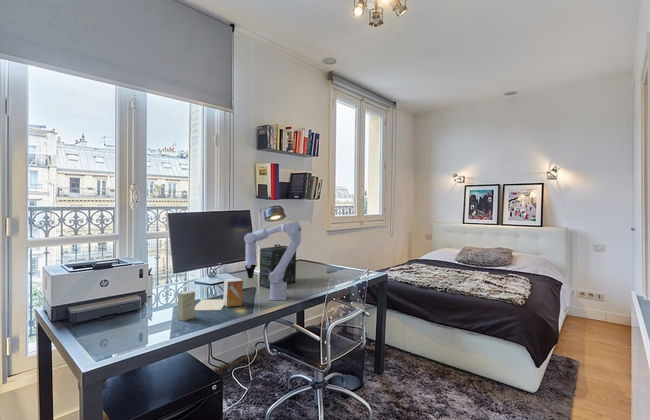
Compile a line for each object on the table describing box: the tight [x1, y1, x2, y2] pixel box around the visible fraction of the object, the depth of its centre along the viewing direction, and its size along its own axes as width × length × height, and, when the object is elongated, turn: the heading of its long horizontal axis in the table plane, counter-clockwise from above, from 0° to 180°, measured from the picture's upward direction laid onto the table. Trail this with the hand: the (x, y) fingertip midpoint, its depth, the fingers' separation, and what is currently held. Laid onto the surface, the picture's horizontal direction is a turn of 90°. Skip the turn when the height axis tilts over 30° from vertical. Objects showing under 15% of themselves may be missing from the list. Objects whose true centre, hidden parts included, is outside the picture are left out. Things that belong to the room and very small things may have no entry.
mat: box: [195, 298, 225, 312], centre depth 170 cm, size 14×17×1 cm
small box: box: [222, 277, 244, 308], centre depth 171 cm, size 8×6×13 cm
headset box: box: [259, 244, 297, 289], centre depth 213 cm, size 22×12×26 cm, turn 144°
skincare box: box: [177, 290, 196, 322], centre depth 151 cm, size 6×4×12 cm
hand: (250, 278), depth 186 cm, fingers closed
